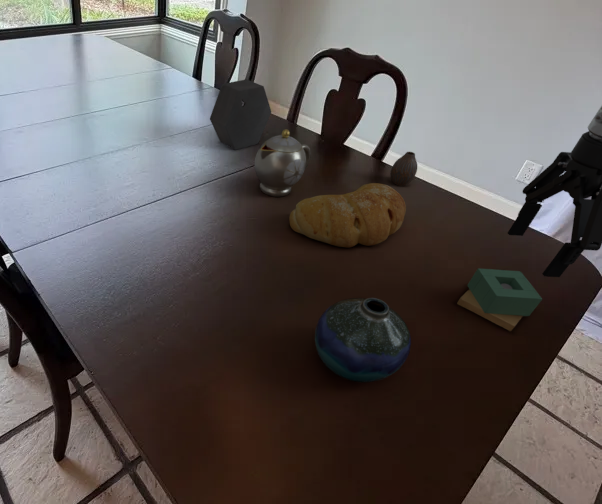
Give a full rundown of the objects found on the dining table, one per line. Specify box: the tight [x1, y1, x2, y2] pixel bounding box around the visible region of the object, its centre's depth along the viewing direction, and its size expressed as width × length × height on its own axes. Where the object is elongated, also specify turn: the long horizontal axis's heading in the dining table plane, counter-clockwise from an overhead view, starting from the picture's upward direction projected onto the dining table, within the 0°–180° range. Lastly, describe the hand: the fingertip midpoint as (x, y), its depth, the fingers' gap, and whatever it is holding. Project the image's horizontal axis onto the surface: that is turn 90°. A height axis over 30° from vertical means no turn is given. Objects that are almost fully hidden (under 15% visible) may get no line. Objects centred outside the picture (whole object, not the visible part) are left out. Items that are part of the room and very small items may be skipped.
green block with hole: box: [467, 268, 543, 317], centre depth 89 cm, size 9×9×4 cm
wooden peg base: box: [456, 284, 524, 332], centre depth 90 cm, size 11×11×5 cm
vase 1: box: [314, 297, 412, 383], centre depth 74 cm, size 15×15×13 cm
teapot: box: [254, 128, 312, 198], centre depth 118 cm, size 18×14×16 cm
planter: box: [209, 79, 272, 151], centre depth 139 cm, size 17×8×21 cm
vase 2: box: [389, 151, 418, 187], centre depth 128 cm, size 7×7×9 cm
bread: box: [288, 182, 407, 248], centre depth 108 cm, size 32×20×10 cm, turn 116°
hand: (531, 254), depth 83 cm, fingers open, 13 cm apart
